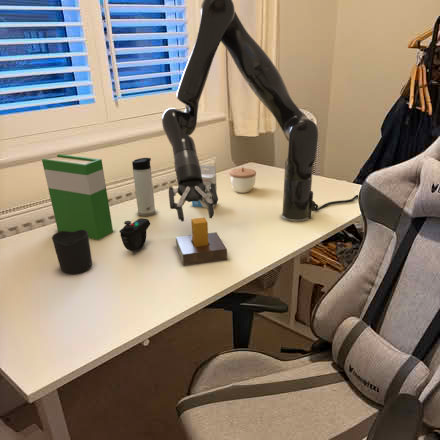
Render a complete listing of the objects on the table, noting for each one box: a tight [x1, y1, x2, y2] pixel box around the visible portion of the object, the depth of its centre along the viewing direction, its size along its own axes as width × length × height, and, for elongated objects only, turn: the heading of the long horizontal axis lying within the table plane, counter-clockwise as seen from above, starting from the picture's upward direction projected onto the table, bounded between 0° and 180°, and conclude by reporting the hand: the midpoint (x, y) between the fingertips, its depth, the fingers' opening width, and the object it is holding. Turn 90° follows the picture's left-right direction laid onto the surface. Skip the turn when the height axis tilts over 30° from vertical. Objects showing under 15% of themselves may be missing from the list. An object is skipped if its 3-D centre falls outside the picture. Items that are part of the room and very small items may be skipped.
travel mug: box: [131, 157, 156, 217], centre depth 158 cm, size 6×7×20 cm
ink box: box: [191, 164, 218, 209], centre depth 165 cm, size 9×5×15 cm, turn 71°
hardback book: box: [41, 154, 114, 241], centre depth 143 cm, size 18×7×24 cm, turn 63°
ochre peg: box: [190, 216, 209, 247], centre depth 130 cm, size 4×4×10 cm
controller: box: [119, 217, 152, 252], centre depth 134 cm, size 4×12×10 cm, turn 157°
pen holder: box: [51, 230, 93, 275], centre depth 124 cm, size 9×9×10 cm
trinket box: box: [229, 167, 257, 194], centre depth 181 cm, size 11×11×9 cm
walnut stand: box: [175, 231, 228, 266], centre depth 132 cm, size 13×13×4 cm
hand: (197, 218), depth 130 cm, fingers open, 8 cm apart
